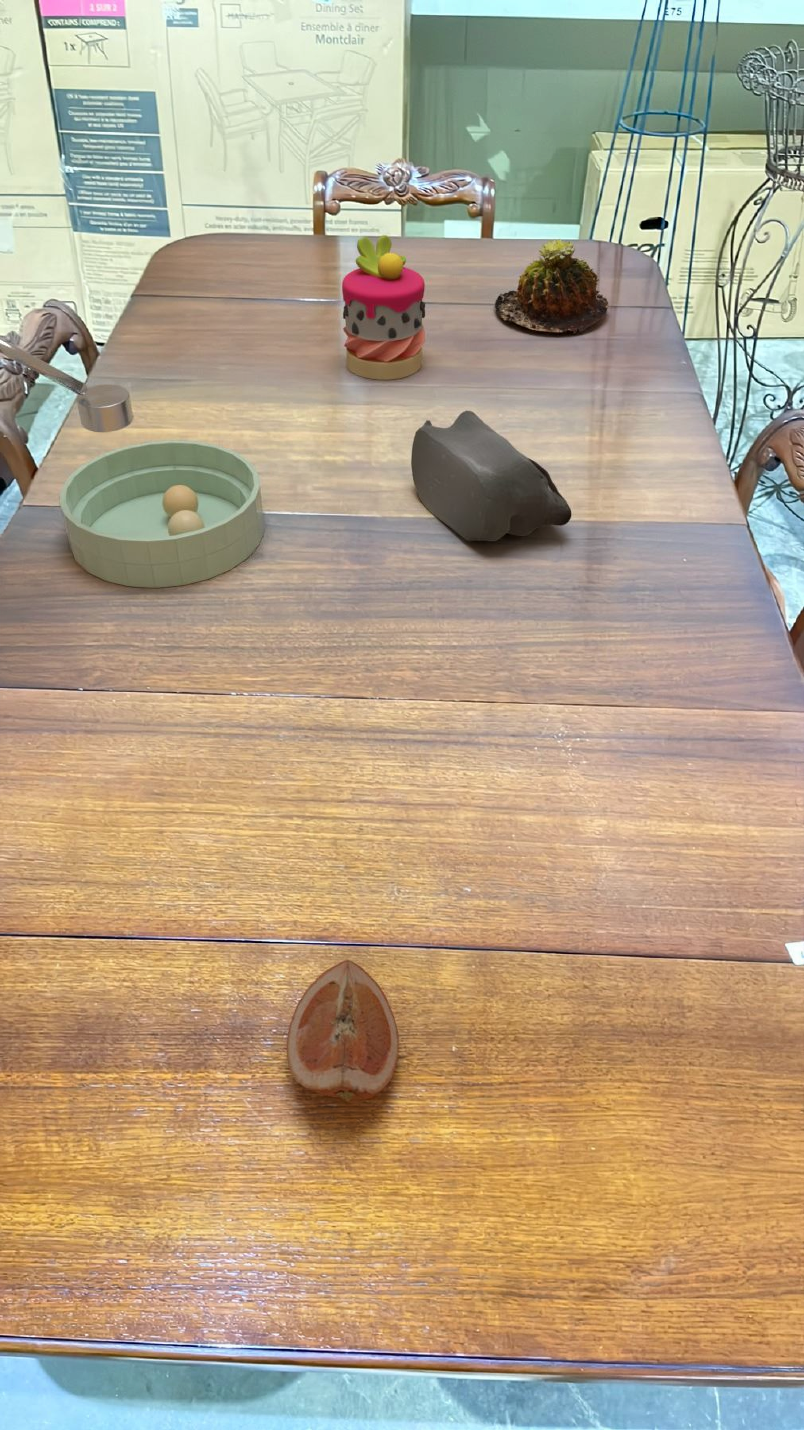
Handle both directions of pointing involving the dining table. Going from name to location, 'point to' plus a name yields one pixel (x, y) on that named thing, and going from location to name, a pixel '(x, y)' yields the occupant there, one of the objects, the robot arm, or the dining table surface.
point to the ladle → (82, 393)
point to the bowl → (161, 513)
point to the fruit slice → (343, 1035)
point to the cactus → (554, 293)
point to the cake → (383, 314)
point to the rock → (482, 482)
